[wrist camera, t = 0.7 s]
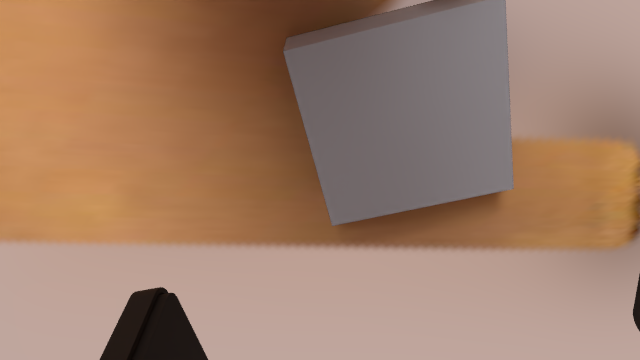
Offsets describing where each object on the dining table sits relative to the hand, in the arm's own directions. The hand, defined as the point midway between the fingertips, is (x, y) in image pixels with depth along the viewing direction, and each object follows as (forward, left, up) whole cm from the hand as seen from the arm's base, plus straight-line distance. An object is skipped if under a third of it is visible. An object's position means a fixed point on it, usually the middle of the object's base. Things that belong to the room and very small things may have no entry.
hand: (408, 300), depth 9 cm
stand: (+6, +3, -27) cm, 28 cm away
